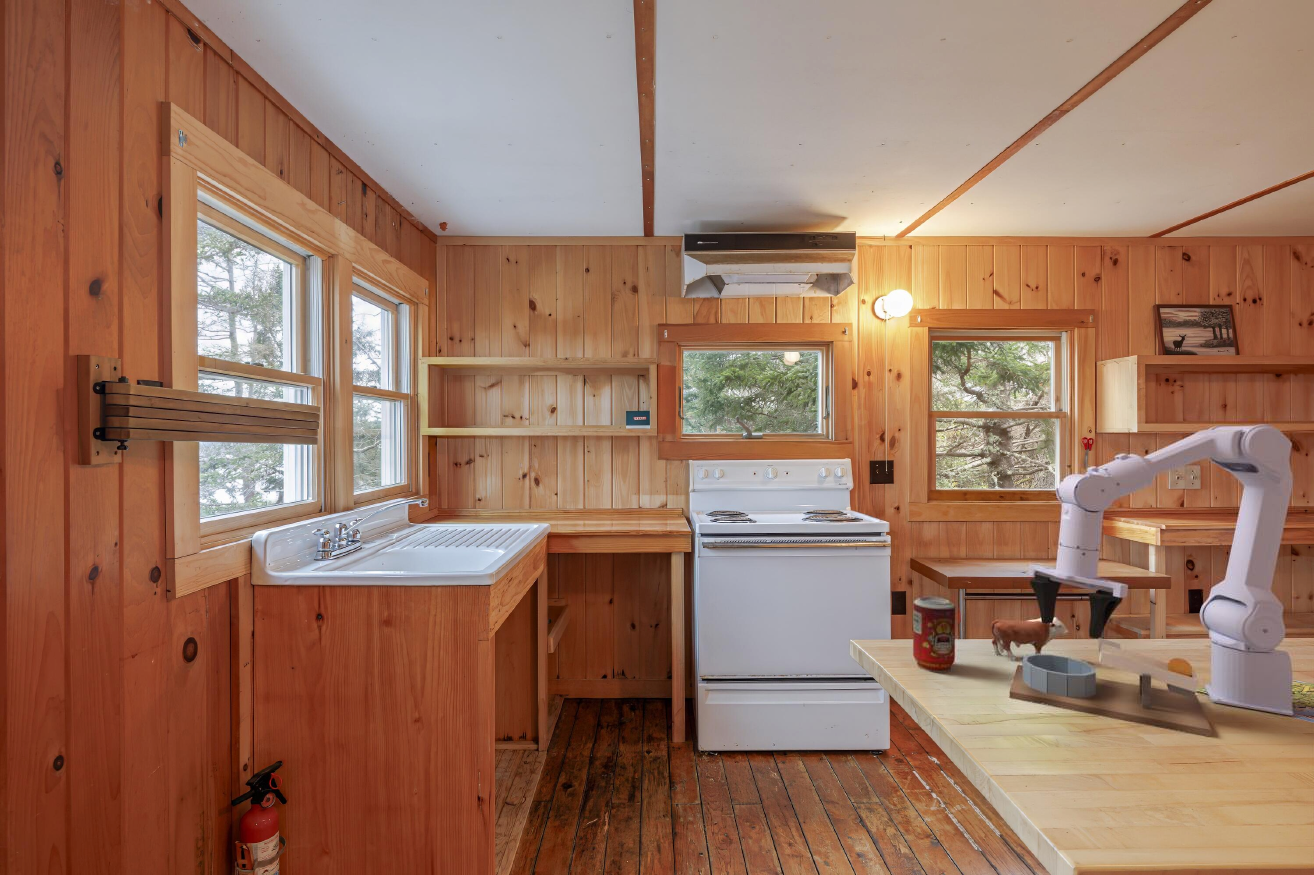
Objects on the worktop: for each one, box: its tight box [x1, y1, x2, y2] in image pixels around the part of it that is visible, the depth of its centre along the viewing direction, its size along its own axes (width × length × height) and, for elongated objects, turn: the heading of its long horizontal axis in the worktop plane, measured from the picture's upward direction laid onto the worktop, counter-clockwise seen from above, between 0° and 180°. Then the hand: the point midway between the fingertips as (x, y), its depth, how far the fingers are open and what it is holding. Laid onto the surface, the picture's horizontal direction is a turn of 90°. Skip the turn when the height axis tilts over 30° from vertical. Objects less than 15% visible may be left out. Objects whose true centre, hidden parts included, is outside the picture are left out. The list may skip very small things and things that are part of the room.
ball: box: [1167, 657, 1193, 677], centre depth 99 cm, size 3×3×3 cm
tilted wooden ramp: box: [1098, 637, 1200, 699], centre depth 105 cm, size 12×13×3 cm
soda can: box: [912, 595, 956, 673], centre depth 120 cm, size 7×7×12 cm
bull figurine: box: [990, 616, 1070, 661], centre depth 124 cm, size 4×13×8 cm, turn 79°
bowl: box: [1022, 653, 1097, 698], centre depth 108 cm, size 10×10×4 cm
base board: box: [1009, 664, 1212, 738], centre depth 105 cm, size 25×15×6 cm, turn 57°
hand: (1070, 629), depth 107 cm, fingers open, 7 cm apart
